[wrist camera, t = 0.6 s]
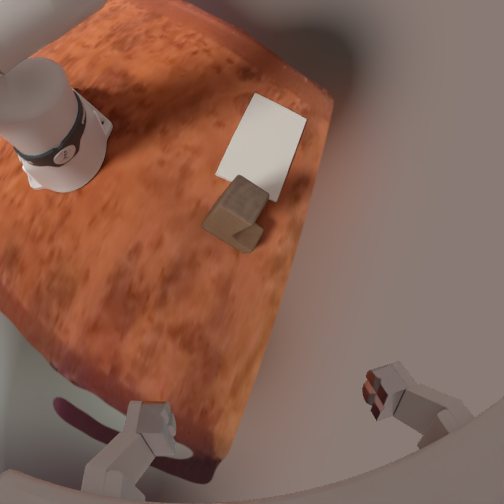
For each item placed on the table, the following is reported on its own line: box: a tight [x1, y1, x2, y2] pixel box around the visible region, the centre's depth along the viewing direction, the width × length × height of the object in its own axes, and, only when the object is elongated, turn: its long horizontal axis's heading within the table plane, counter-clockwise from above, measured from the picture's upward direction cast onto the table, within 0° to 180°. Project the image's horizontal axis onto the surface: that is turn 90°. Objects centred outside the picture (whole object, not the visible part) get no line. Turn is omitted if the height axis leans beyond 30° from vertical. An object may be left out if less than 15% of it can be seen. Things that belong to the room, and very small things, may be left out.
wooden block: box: [201, 175, 270, 253], centre depth 41 cm, size 9×4×18 cm, turn 60°
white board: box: [215, 93, 307, 203], centre depth 52 cm, size 20×12×1 cm, turn 159°
